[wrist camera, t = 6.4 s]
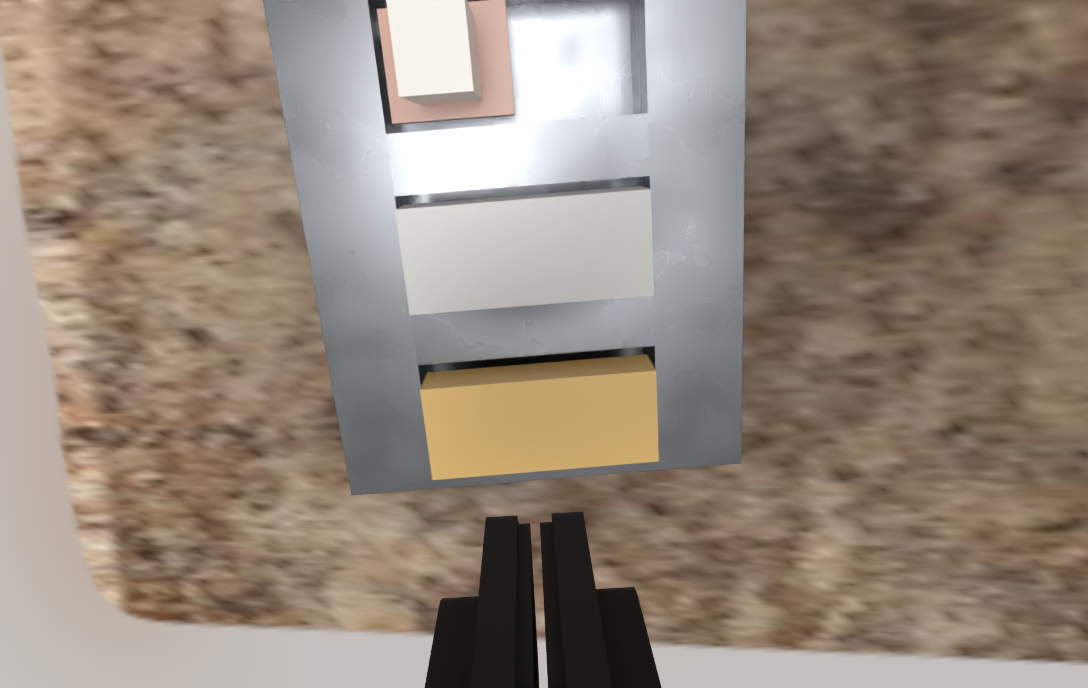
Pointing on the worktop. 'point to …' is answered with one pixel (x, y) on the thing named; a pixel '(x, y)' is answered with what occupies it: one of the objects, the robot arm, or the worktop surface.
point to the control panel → (523, 169)
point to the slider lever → (446, 60)
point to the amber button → (541, 416)
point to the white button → (527, 249)
